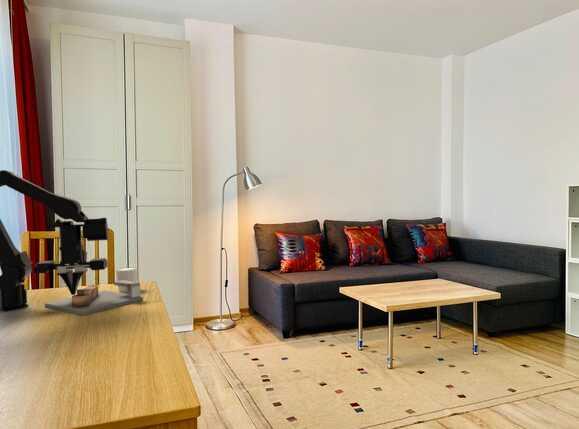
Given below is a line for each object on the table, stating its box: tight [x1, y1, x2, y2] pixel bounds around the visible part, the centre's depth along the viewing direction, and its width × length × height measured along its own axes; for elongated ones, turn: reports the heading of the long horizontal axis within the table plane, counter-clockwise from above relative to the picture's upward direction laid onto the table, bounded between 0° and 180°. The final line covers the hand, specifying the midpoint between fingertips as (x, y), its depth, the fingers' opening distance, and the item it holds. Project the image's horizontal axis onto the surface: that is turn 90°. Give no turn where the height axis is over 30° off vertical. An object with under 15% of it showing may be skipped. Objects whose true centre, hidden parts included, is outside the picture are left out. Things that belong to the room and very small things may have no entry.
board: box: [44, 289, 144, 316], centre depth 129 cm, size 19×19×1 cm
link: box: [71, 284, 99, 307], centre depth 129 cm, size 18×4×4 cm, turn 11°
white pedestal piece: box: [115, 267, 138, 292], centre depth 147 cm, size 7×7×7 cm
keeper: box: [113, 280, 141, 298], centre depth 133 cm, size 3×8×4 cm, turn 56°
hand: (73, 294), depth 130 cm, fingers closed
